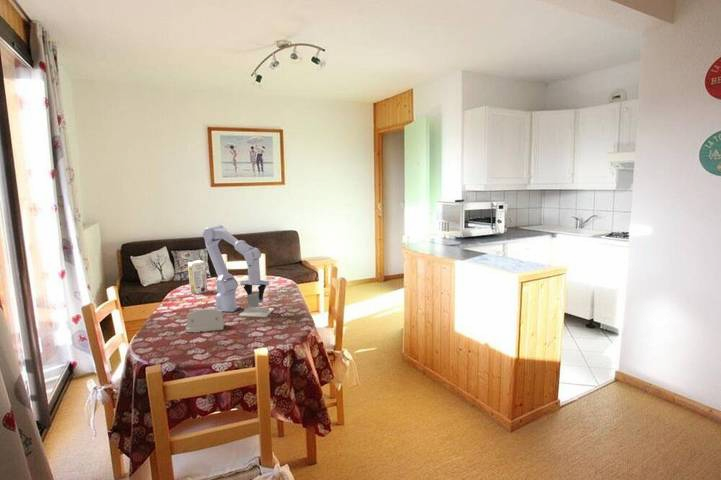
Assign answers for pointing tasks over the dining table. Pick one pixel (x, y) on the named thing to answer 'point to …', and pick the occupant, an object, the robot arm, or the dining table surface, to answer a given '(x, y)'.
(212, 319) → the light grey flat block
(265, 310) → the rail board
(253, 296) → the module
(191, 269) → the juice carton
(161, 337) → the dining table surface
